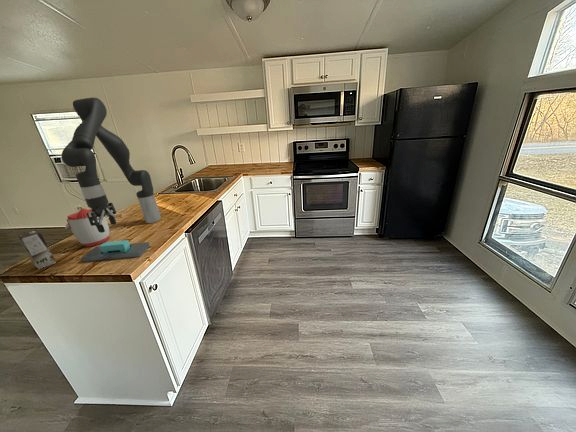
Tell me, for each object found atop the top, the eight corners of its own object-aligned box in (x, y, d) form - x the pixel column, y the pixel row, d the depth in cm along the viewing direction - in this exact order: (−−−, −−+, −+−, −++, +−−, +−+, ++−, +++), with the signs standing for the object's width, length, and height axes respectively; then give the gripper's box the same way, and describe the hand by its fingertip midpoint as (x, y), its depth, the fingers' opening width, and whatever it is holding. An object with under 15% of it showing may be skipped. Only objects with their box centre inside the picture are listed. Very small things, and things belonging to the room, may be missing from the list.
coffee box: (57, 262, 110) (41, 232, 104) (38, 269, 105) (20, 238, 99) (51, 258, 114) (35, 228, 108) (33, 264, 109) (15, 234, 103)
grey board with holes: (98, 251, 118) (96, 246, 117) (149, 246, 119) (148, 242, 118) (83, 262, 108) (81, 257, 108) (139, 256, 110) (138, 252, 109)
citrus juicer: (74, 243, 128) (59, 209, 121) (112, 232, 138) (99, 201, 131) (74, 253, 117) (56, 217, 109) (115, 241, 127) (101, 207, 119)
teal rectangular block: (109, 252, 116) (105, 242, 113) (132, 250, 116) (128, 239, 114) (103, 257, 111) (99, 246, 109) (127, 255, 112) (123, 244, 110)
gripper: (97, 191, 109) (109, 222, 115) (73, 201, 95) (89, 235, 102) (113, 190, 109) (125, 221, 115) (92, 199, 96) (106, 234, 102)
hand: (108, 228), depth 108 cm, fingers open, 8 cm apart
